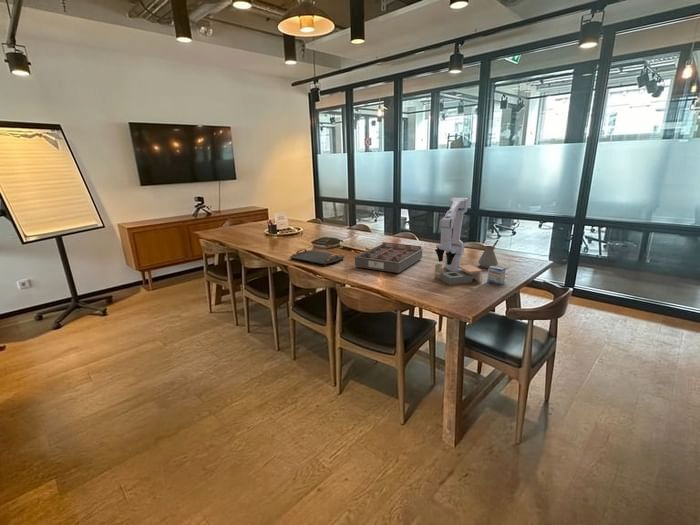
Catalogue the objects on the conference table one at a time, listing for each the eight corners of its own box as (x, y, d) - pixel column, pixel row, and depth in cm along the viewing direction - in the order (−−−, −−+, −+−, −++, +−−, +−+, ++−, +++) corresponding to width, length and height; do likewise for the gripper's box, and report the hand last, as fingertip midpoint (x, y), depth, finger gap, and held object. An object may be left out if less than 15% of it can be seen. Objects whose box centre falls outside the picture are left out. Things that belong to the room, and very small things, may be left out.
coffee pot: (493, 270, 215) (495, 246, 211) (475, 267, 223) (476, 244, 218) (505, 262, 230) (507, 240, 226) (488, 259, 238) (489, 238, 234)
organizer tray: (353, 268, 227) (353, 253, 225) (382, 254, 260) (382, 241, 257) (399, 275, 211) (399, 259, 208) (423, 259, 243) (423, 245, 240)
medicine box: (486, 281, 196) (488, 266, 193) (490, 279, 199) (491, 265, 196) (501, 285, 190) (502, 269, 188) (504, 282, 193) (506, 267, 191)
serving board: (348, 260, 248) (348, 251, 246) (326, 268, 230) (326, 259, 228) (308, 253, 271) (308, 245, 269) (286, 260, 253) (285, 251, 251)
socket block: (440, 279, 201) (440, 272, 200) (462, 277, 205) (462, 270, 204) (449, 285, 192) (449, 278, 191) (472, 282, 195) (472, 275, 194)
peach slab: (456, 277, 205) (457, 265, 203) (469, 275, 207) (470, 264, 205) (468, 283, 194) (469, 271, 192) (481, 281, 196) (482, 270, 194)
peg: (433, 277, 206) (434, 264, 203) (439, 276, 206) (440, 263, 204) (436, 279, 202) (437, 265, 200) (442, 278, 203) (443, 265, 201)
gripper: (432, 237, 201) (431, 260, 205) (448, 242, 188) (447, 267, 192) (442, 236, 204) (441, 259, 208) (459, 241, 191) (457, 265, 195)
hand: (444, 262), depth 200 cm, fingers open, 7 cm apart
